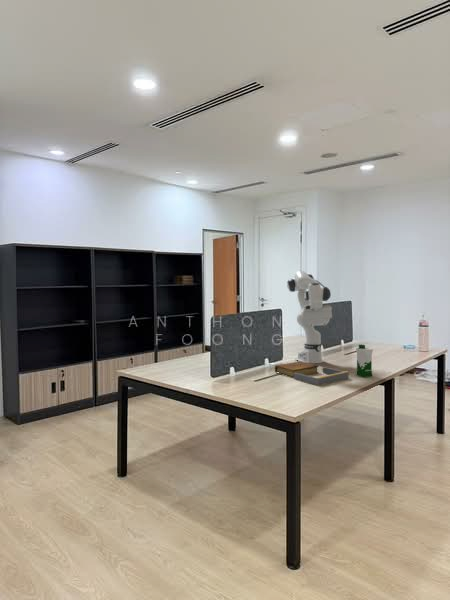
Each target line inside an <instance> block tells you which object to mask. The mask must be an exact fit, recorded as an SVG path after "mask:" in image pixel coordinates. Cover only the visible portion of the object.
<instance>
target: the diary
mask: <svg viewBox="0 0 450 600" xmlns="http://www.w3.org/2000/svg"><path fill="white" fill-rule="evenodd" d="M319 367H320V366H319V365H318V364H315V363H305V362H301V361H294V362H289V363H288V362H287V363H283V364H277V365H276V364H275V365H274V373H275V372H279V373H281V374H280V375H282V374H284V375H283V376H285V375H287V376H286V377H289V376H290V377H289V378H292V377H293V378H292V379H294V373H299V374H303V375H307V376H310V375H316V374H319V372H318V368H319Z"/></svg>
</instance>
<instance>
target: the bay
mask: <svg viewBox="0 0 450 600" xmlns="http://www.w3.org/2000/svg"><path fill="white" fill-rule="evenodd" d="M322 373H323V374H325V375H323V376H319V377H315V376H310V375H303V374H299V373H294V378H293V379H294V380H295V379H296V381H299V380H300V382H303V381H304V383H306V384H307V383H308V384H310V385H315V386H322V385H326V384H331V383H335V382H340V381H344V380H347V379H349V378H350V376H349V374H350V373H349V371H348V370H340V369H335V368H330V367H327V366H323V367H322Z"/></svg>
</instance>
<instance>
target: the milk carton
mask: <svg viewBox="0 0 450 600" xmlns="http://www.w3.org/2000/svg"><path fill="white" fill-rule="evenodd" d="M373 351H374V349H373V348H370V347H366V345H365V344H358V348H355V352H356V374H355V375H356V376H358V377H362V378H369V377H370V378H371V377H373V370H372V369H373V368H372V367H373V366H372V362H373V360H372V359H373V358H372V356H373Z"/></svg>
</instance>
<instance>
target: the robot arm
mask: <svg viewBox="0 0 450 600" xmlns="http://www.w3.org/2000/svg"><path fill="white" fill-rule="evenodd" d="M286 283H287V284H286V286H287V289H288V291H289V292H290V293H293V292H297V299H298V303H299V306H300V308H301V311H302V312H298V314H297V316H296V322H297V324H298V325H299V326H301V327H302V328H303V330H304V333H305V343H304V348H302V349H301V350H300V351H299V352H298V353H297V357H296V358H294V361H296V360H298V361H297V362H299V361H301V362H305V363H310V364H322V363H324V360H323V356H322V355H323V354H322V343H321V342H322V341H321V340H322V337H321V336H322V335H321V332H320V331H318V330H316V328H314V327H315V326H327V324H329V323H330V321H331V320H330V319H333V312H332V311H333V308H332V306H331V305H329V304H323V302H327V301H328V300H330V299H331V297H332V296H331V295H332V294H331V289H329V287H327V286H325V285H323V284H322V283H321V282H320V281H318V280H317V279H315V278H314V276H313V275H312V274H311V273H310V274H308V273H307V272H305V271H304V270H298V271H296V272H295V273H294V277H293V278H290V279H288V280H287V282H286Z"/></svg>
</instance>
